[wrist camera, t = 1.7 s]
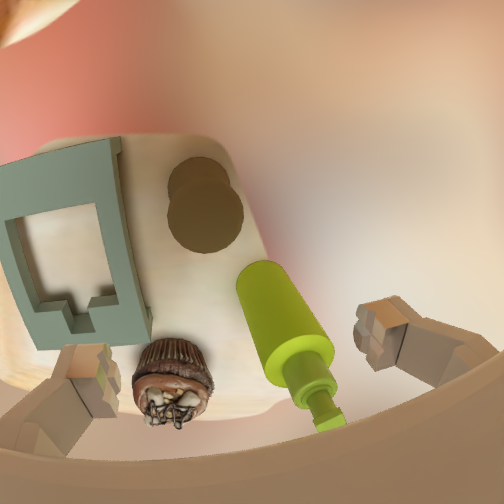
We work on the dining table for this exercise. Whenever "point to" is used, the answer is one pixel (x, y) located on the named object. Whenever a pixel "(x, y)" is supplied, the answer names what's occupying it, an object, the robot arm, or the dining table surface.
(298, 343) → the soap dispenser
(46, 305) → the grey-green slotted stand
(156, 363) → the cupcake
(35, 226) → the dining table surface
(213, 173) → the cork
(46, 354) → the dining table surface
